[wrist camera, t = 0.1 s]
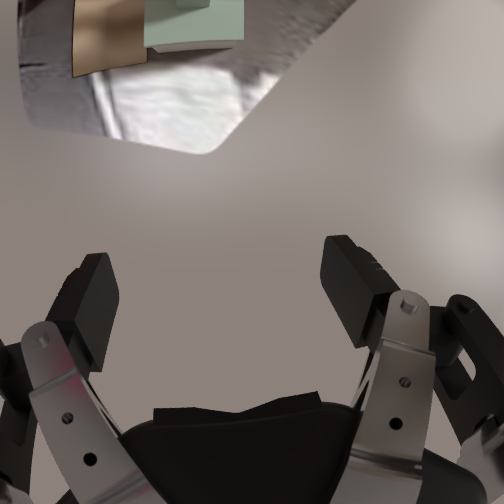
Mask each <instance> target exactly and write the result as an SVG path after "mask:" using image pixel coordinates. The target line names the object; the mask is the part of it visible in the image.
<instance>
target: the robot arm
mask: <svg viewBox="0 0 504 504" xmlns="http://www.w3.org/2000/svg"><path fill="white" fill-rule="evenodd" d="M320 279H321V284H322V286H323V288H324V290H325V292H326V294H327V296H328V298H329V299H330V301H331V303H332V305H333V307H334V308H335V311H336V312H337V314H338V316H339V318H340V320H341V321H342V323H343V326H344V327H345V329H346V331H347V333H348V335H349V337H350V339H351V341H352V343H353V345H354V347H355V348H360V347H365V346H368V348H369V350H370V351H369V353H368V356H367V359H366V362H365V365H364V368H363V371H362V375H361V378H360V381H359V384H358V387H357V390H356V393H355V395H354V398H353V400H352V403H351V405H350V407H349V406H346V405H343V404H338V403H331V402H321V400H320V397H319V394H318V391H316V392H311V393H306V394H300V395H294V396H289V397H283V398H278V399H275V400H273V401H270V402H268V403H265V404H262V405H260V406H257V407H254V408H252V409H249V410H246V411H243V412H240V413H231V412H223V411H215V410H208V409H201V408H195V407H190V408H189V407H188V408H154V413H153V420H150V421H147V422H144V423H141V424H139V425H137V426H134V427H133V428H131V429H129V430H128V431H126V432H125V433H123V432H122V430H121V429H120V428H119V427H118V425H117V424H116V422H115V421H114V420H113V418H112V417H111V415H110V414H109V412H108V410H107V409H106V408H105V406H104V404H103V403H102V401H101V399H100V398H99V396H98V395H97V393H96V391H95V390H94V388H93V386H92V384H91V383H90V381H89V380H88V378H89V374H90V372H102V368H103V363H104V358H105V354H106V350H107V345H108V342H109V338H110V334H111V330H112V326H113V322H114V318H115V315H116V311H117V307H118V304H119V290H118V286H117V282H116V279H115V276H114V272H113V269H112V265H111V262H110V258H109V256H108V254H107V253H94V254H87V255H86V257H85V258H84V260H83V262H82V264H81V266H80V268H76V269H75V270H74V271H73V272H72V273H71V274H70V275H68V276H67V278H66V280H65V281H64V283H63V285H62V288H61V289H60V291H59V293H58V296H57V297H56V299H55V301H54V303H53V305H52V307H51V309H50V311H49V313H48V315H47V317H46V319H45V321H43V322H38V323H36V324H34V325H33V326H31V327H30V328H28V329H27V331H26V332H25V333H24V335H23V337H22V339H21V342H19V343H15V344H11V345H8V346H5V345H4V344H3V342H2V341H1V339H0V395H1V396H2V398H3V399H4V400H5V401H4V405H3V408H2V413H1V416H0V504H33V502H32V500H31V499H30V497H29V490H30V474H31V464H32V455H33V447H34V440H35V434H36V428H37V422H38V423H39V425H40V428H41V430H42V433H43V435H44V437H45V440H46V442H47V444H48V446H49V449H50V451H51V453H52V455H53V457H54V459H55V461H56V463H57V465H58V467H59V469H60V471H61V473H62V475H63V477H64V478H65V480H66V482H67V484H68V486H69V487H70V489H69V490H68V491H67V492H66V494H65V495H64V496H63V497H62V498H61V499H60V500H59V501H58V502H57V503H56V504H490V503H492V502H493V501H495V500H496V499H497V498H498V497H500V496H501V495H502V494H504V336H503V335H502V334H501V332H500V331H499V330H498V328H497V327H496V326H495V325H494V323H493V322H492V321H491V320H490V318H489V317H488V316H487V315H486V313H485V312H484V311H483V310H482V309H481V307H480V306H479V305H478V304H477V303H476V302H475V301H474V300H473V299H471V298H469V297H467V296H464V295H459V294H456V295H453V296H451V297H450V299H449V301H448V303H447V305H446V307H440V306H429V304H428V302H427V301H426V300H425V299H424V298H423V297H422V296H421V295H419V294H417V293H415V292H412V291H408V290H401V289H400V288H399V287H398V285H397V284H396V283H395V282H394V280H393V279H392V278H391V277H390V276H389V274H388V273H387V272H386V271H385V270H383V267H382V266H381V265H380V264H379V263H377V260H376V259H375V258H374V257H373V256H372V254H371V253H369V252H368V251H366V250H364V249H363V248H361V247H357V246H356V245H355V243H354V242H353V241H352V240H351V239H350V238H349V237H348V236H347V235H334V236H327V237H326V239H325V243H324V250H323V257H322V263H321V270H320ZM463 348H464V349H465V351H466V352H467V354H468V355H469V357H470V358H471V360H472V362H473V363H474V365H475V368H476V375H475V378H474V380H473V381H472V380H471V378H470V376H469V374H468V373H467V371H466V370H465V368H464V366H463V365H462V363H461V361H460V360H459V358H458V356H459V354H460V353H461V351H462V350H463ZM433 389H434V391H435V393H436V395H437V397H438V398H439V400H440V402H441V404H442V407H443V408H444V411H445V413H446V414H447V417H448V419H449V421H450V423H451V425H452V427H453V429H454V432H455V434H456V436H457V438H458V440H459V443H460V445H461V451H460V457H459V458H458V460H457V464H455V463H453V462H451V461H449V460H447V459H445V458H443V457H441V456H439V455H437V454H435V453H433V452H431V451H429V450H427V449H425V448H424V445H425V440H426V435H427V429H428V424H429V417H430V410H431V403H432V394H433Z"/></svg>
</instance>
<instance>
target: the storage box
mask: <svg viewBox="0 0 504 504" xmlns="http://www.w3.org/2000/svg"><path fill="white" fill-rule="evenodd" d="M236 43H237V42H201V43H186V44H175V45H166V46H158V47H152V48H153V49H154V50H156V51H157V52H158V53H164V52H174V51H184V50H198V49H221V48H233V47H234V46H235V44H236Z"/></svg>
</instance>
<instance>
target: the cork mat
mask: <svg viewBox="0 0 504 504" xmlns="http://www.w3.org/2000/svg"><path fill="white" fill-rule="evenodd" d="M144 14H145V0H76V1H75V12H74V30H73V77H77V76H81V75H84V74H88V73H93V72H97V71H101V70H106V69H110V68H115V67H120V66H126V65H132V64H138V63H144V62H147V48H145V47H144Z"/></svg>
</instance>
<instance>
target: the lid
mask: <svg viewBox="0 0 504 504" xmlns="http://www.w3.org/2000/svg"><path fill="white" fill-rule="evenodd" d="M243 40H244V0H145V14H144V47H145V48H150V47H158V46H166V45H175V44H186V43H201V42H242V41H243Z"/></svg>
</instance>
